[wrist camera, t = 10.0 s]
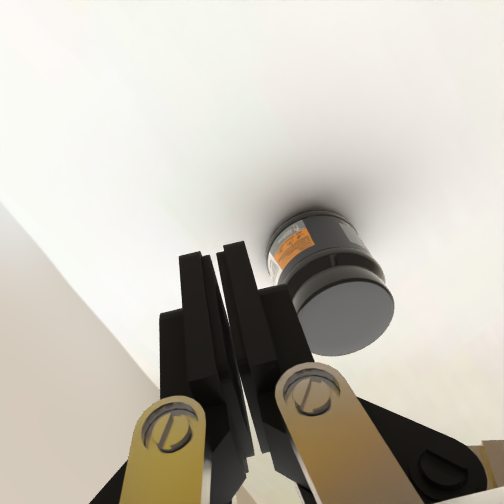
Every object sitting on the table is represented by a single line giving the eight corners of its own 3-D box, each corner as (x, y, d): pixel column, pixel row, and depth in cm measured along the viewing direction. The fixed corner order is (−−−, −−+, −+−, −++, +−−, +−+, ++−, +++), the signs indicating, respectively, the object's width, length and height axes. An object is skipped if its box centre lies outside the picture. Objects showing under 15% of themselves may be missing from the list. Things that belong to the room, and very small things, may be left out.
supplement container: (243, 254, 51) (264, 331, 41) (313, 187, 48) (354, 253, 38) (306, 298, 56) (338, 375, 47) (373, 240, 53) (422, 310, 43)
